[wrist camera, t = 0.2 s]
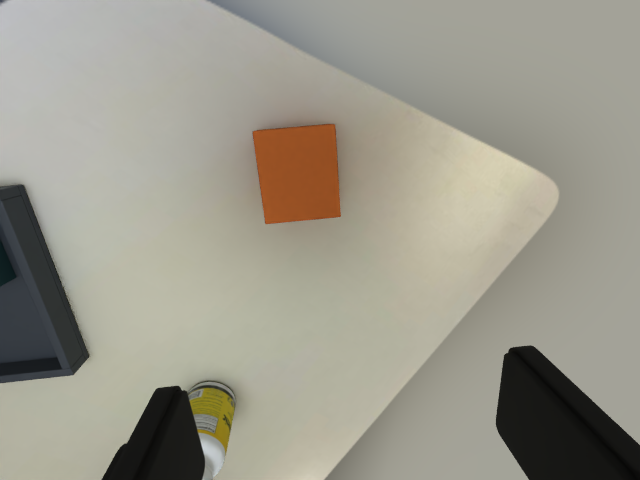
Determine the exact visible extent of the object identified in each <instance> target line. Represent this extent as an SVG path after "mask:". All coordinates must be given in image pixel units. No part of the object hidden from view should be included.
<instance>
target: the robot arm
mask: <svg viewBox="0 0 640 480" xmlns="http://www.w3.org/2000/svg"><path fill="white" fill-rule="evenodd" d="M496 427H497V430H498V432H499V434H500V436H501V437H502V439H503V441H504V442H505V444H506V445H507V447H508V448H509V450H510V451H511V453H512V454H513V456H514V457H515V459H516V460H517V462H518V463H519V465H520V467H521V468H522V470H523V471H524V473H525V474H526V476H527V477H528V479H529V480H640V445H639V444H638V443H637V442H636V441H635V440H634V439H633V438H632V437H631V436H629V435H628V434H627V433H626V432H625V431H624V430H623V429H622V428H621V427H620V426H619V425H618V424H617V423H616V422H614V421H613V420H612V419H611V418H610V417H609V416H608V415H607V414H606V413H605V412H604V411H602V409H601V408H599V407H598V406H597V405H596V404H595V403H594V402H593V401H592V400H591V399H590V398H589V397H588V396H587V395H586V394H584V393H583V392H582V391H581V390H580V389H579V388H578V387H577V386H576V385H575V384H574V383H573V382H572V381H571V380H570V379H568V378H567V377H566V376H565V375H564V374H563V373H562V372H561V371H560V370H559V369H558V368H557V367H556V366H555V365H553V364H552V363H551V362H550V361H549V360H548V359H547V358H546V357H545V356H544V355H543V354H542V353H541V352H540V351H538V350H537V349H536V348H535V347H534V346H521V347H513V348H510V349H509V352H508V353H507V354H505V355H504V361H503V368H502V376H501V384H500V392H499V399H498V407H497V415H496ZM204 470H205V456H204V452H203V448H202V445H201V441H200V437H199V434H198V430H197V426H196V423H195V419H194V415H193V412H192V408H191V404H190V401H189V397H188V393H187V391H185V390H184V391H182V390H181V388H180V387H179V386H171V387H163V388H157V389H156V390H155V392H154V393H153V395H152V397H151V399H150V401H149V403H148V405H147V407H146V408H145V410H144V412H143V414H142V416H141V418H140V420H139V422H138V424H137V426H136V427H135V429H134V431H133V433H132V435H131V437H130V439H129V441H128V443H126V444H124V445H123V446H121V447H120V448H119V450H118V451H117V453H116V454H115V456H114V458H113V460H112V462H111V464H110V466H109V467H108V469H107V471H106V473H105V475H104V477H103V478H102V480H202V479H203V475H204Z"/></svg>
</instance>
